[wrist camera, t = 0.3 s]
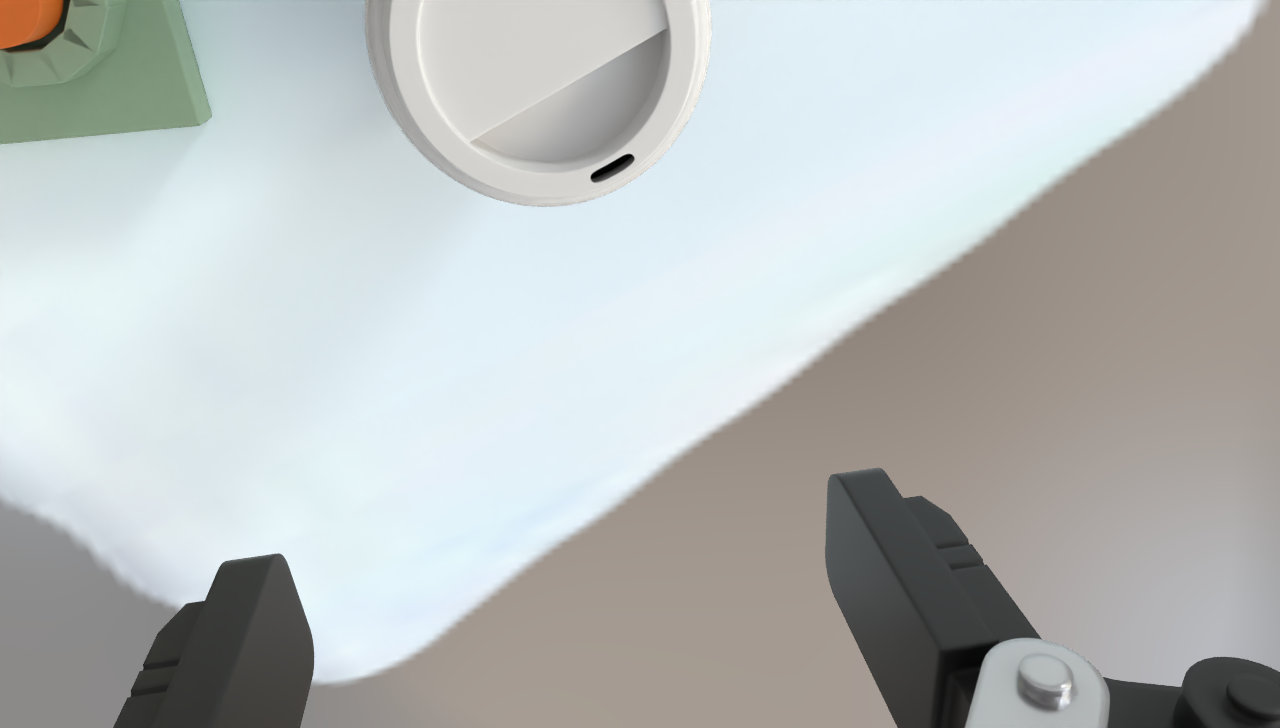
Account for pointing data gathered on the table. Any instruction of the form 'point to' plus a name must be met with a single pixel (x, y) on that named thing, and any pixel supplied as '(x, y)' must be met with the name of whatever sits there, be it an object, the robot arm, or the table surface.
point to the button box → (103, 74)
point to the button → (27, 20)
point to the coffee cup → (540, 88)
